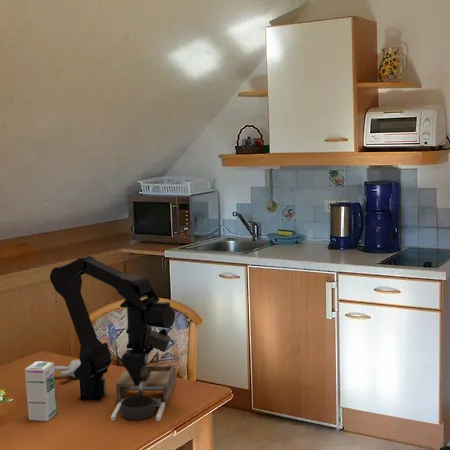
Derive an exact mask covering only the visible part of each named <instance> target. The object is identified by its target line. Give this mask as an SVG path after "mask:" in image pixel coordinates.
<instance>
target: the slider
mask: <svg viewBox="0 0 450 450" xmlns="http://www.w3.org/2000/svg"><path fill="white" fill-rule="evenodd" d="M144 380H146V366H143V367H142V370H141V377H140V384H139V385H138V387H139V390H138V396H144V390H143V381H144ZM126 398H127V397H125V398H122V399H121V403H122V401H123V400H125V399H126ZM151 398H152V399H153V400H154V408H155V407H156V408H157V407H158V408H160V405H161V402H162V398H161V397H158V398H156V397H155V398H154V397H151Z"/></svg>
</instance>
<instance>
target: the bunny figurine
mask: <svg viewBox="0 0 450 450" xmlns="http://www.w3.org/2000/svg"><path fill="white" fill-rule="evenodd" d="M80 365H81V363H80V359H73V360H71V361H70V363H69V365H68V366H65V365H54V370H55V371H59V372H60V374H59V375H60V376H61V377H68V376H70V377H73V378H75V375H74V371H75V370H76V369H77V368H78V367H79V366H80Z"/></svg>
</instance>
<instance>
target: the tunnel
mask: <svg viewBox="0 0 450 450" xmlns="http://www.w3.org/2000/svg"><path fill="white" fill-rule="evenodd" d="M144 381H147V382H146V387H163V390H162V402H165V407H168V404H169V402H170V398H171V396H172V392H173V391H174V387H175V385H176V364H175V365H174V364H172V365H171V364H169V365H167V364H166V365H162V364H160V365H156V364H155V365H147V366H146V380H144ZM115 385H116V387H115V388H116V389H115V391H116V405H117V404H118V402H121V399H122V398H126V396H127V394H128V392H129V390H128V389H129V387H137V386H138V385H135V384H134V382H133V380H132V378H131V376H130V375H129V373H128V371H127V369H126V370H125V371H122V373H121V375H120V376H119V378H118V380H117V381H116V383H115Z"/></svg>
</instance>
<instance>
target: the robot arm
mask: <svg viewBox="0 0 450 450" xmlns="http://www.w3.org/2000/svg"><path fill="white" fill-rule="evenodd" d="M85 274H86V275H88V276H90V277H92V278H93V279H96V280H97V281H100V282H102V283H104V284H105V285H106V284H107V285H109V286H111V287H112V288H114V289H115V290H116V292H117V294H118V295H120V297H122V298H123V299H124V301H123V302H121V304H120V305H119V307H120V308H125V309H126V316H127V328H126V329H125V331H126V333H125V334H127V339H128V340H127V341H128V343H127V344H126V349H127V350H125V351H124V353H122V356H121V365H122V366H123V367H125V369H126V370H127V371H128V373H129V375H130V376H131V378H132V380H133V382H134V384H135V385H139V384H140V377H141V370H142V367H143V366H147V364H148V359H149V354H150V353H151V352H152V351H153V350H154V349H156V350H159V351H160V352H162V353H165V352H167V349H168V347H169V343H170V340H171V335H169V333H168V329H171V328H172V326H173V325H174V323H175V319H176V313H175V311H174V308H173V307H171V302H169V301H164V302H163V301H160V298H159V296H158V294H157V293H156V292H155V290H154V289H153V287H152V284H151V283H150V280H149V278H147V277H146V276H142V275H138V274H133V273H125V272H123V271H120V270H118V269H117V268H114V267H112V266H110V265H108V264H106V263H104V262H101V261H99V260H98V259H95V258H94V256H91V255H85V256H81V257H78V258H76V259H75V260H73V261H71V262H69V263H67V264H64V265H61V266H55V267H53V268H52V269H51V272H50V274H49V280H50V283H51V285H52V286H53V288H54V291H56V293H58V295H60V296H61V297H62V298H63V300H64V302H65V305H66V309H67V311H68V314H69V317H70V319H71V322H72V324H73V327H74V330H75V333H76V336H77V338H78V342H79V344H80V348H79V349H80V350H79V360H80V363H81V365H80V366H79V367H78V368H77V369H76V370H75V371H74V375H75V377H74V378H75V380H78V381H79V393H80V394H79V397H78V401H102V399H103V398H104V396H105V395H106V393H107V384H106V382H107V381H106V379H104V374H107V373H108V370H109V367H111V364H112V357H111V356H112V353H111V351H110V349H109V345H108V343H107V342H103V343H102V341H100V340H99V339H98V337H97V333H96V332H95V328H94V325H93V323H92V321H91V318H90V315H89V312H88V309H87V305H86V303H85V300H84V297H83V295H82V286H83V278H82V276H83V275H85ZM152 327H156V328H161V329H160V330H159V331H153V330H152Z"/></svg>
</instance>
